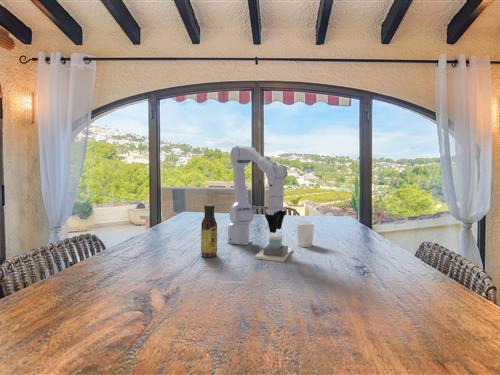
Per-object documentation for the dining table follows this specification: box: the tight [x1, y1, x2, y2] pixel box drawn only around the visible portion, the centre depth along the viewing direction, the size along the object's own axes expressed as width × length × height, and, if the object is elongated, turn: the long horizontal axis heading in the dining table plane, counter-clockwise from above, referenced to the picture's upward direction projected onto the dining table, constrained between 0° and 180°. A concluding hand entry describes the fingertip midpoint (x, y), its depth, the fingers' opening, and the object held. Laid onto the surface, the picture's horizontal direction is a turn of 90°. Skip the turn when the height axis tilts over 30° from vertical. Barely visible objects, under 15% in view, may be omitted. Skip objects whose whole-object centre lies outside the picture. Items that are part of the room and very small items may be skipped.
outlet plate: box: [254, 244, 294, 262], centre depth 122 cm, size 11×16×4 cm
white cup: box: [295, 221, 315, 248], centre depth 136 cm, size 8×8×10 cm
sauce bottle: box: [200, 204, 218, 258], centre depth 119 cm, size 7×6×20 cm
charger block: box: [268, 233, 283, 250], centre depth 119 cm, size 4×4×7 cm
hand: (275, 230), depth 120 cm, fingers open, 7 cm apart
